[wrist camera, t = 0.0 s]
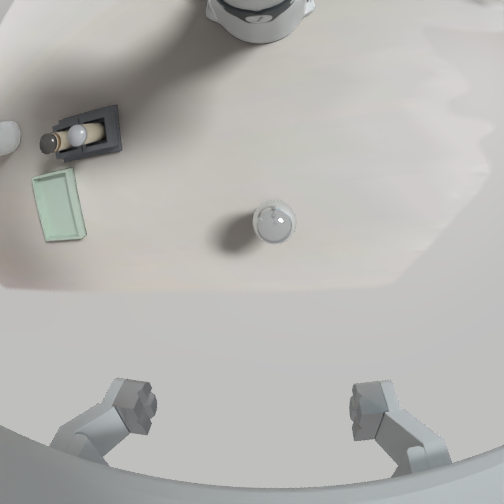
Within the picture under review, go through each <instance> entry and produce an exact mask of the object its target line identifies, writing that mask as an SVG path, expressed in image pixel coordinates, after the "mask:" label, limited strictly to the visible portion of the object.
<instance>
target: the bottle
mask: <svg viewBox="0 0 504 504" xmlns="http://www.w3.org/2000/svg"><path fill="white" fill-rule="evenodd" d="M20 139H21V132H20V128H19V126H18V124H17V123H16V122H14V121H4V122H1V123H0V156H2V155H7V154H9V153H12V152H14V151H15V150H16V149H17V148H18V146H19V144H20Z"/></svg>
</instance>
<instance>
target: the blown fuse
mask: <svg viewBox="0 0 504 504" xmlns="http://www.w3.org/2000/svg"><path fill="white" fill-rule="evenodd" d="M68 131H69V130H67V131H61V132H56V133H49V134H45V135H43V136H42V138H41V140H40V149H41V151H42V152H43V153H44V154H50V153H53V152H56V151H60V150H64V149H68V148H72V147H75V146H72V145H71V144H70V143H69V141H68V138H67V135H68Z"/></svg>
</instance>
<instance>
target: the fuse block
mask: <svg viewBox="0 0 504 504" xmlns="http://www.w3.org/2000/svg"><path fill="white" fill-rule="evenodd" d="M98 122H104V123H105V129H106V137H107V138H106V139H104V140H101V141H97V142H92V143H88V144H83V145H80V146H76V147H72V148H68V149H64V150H60V151H56V158H57V159H60V158H64V162H68V161H72V160H77V159H81V158H86V157H90V156H95V155H100V154H105V153H110V152H116V151H121V150H122V146H121V138H120V129H119V120H118V111H117V105H112V106H109V107H105V108H101V109H97V110H93V111H90V112H86V113H83V114H79V115H76V116H73V117H69V118H66V119H63V120H60V121H59V125H57V126H54V127H52V128H53V133H56V132H61V131H67V130H69V129H70V128H71V127H72V126H74V125H82V124H90V123H98Z"/></svg>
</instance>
